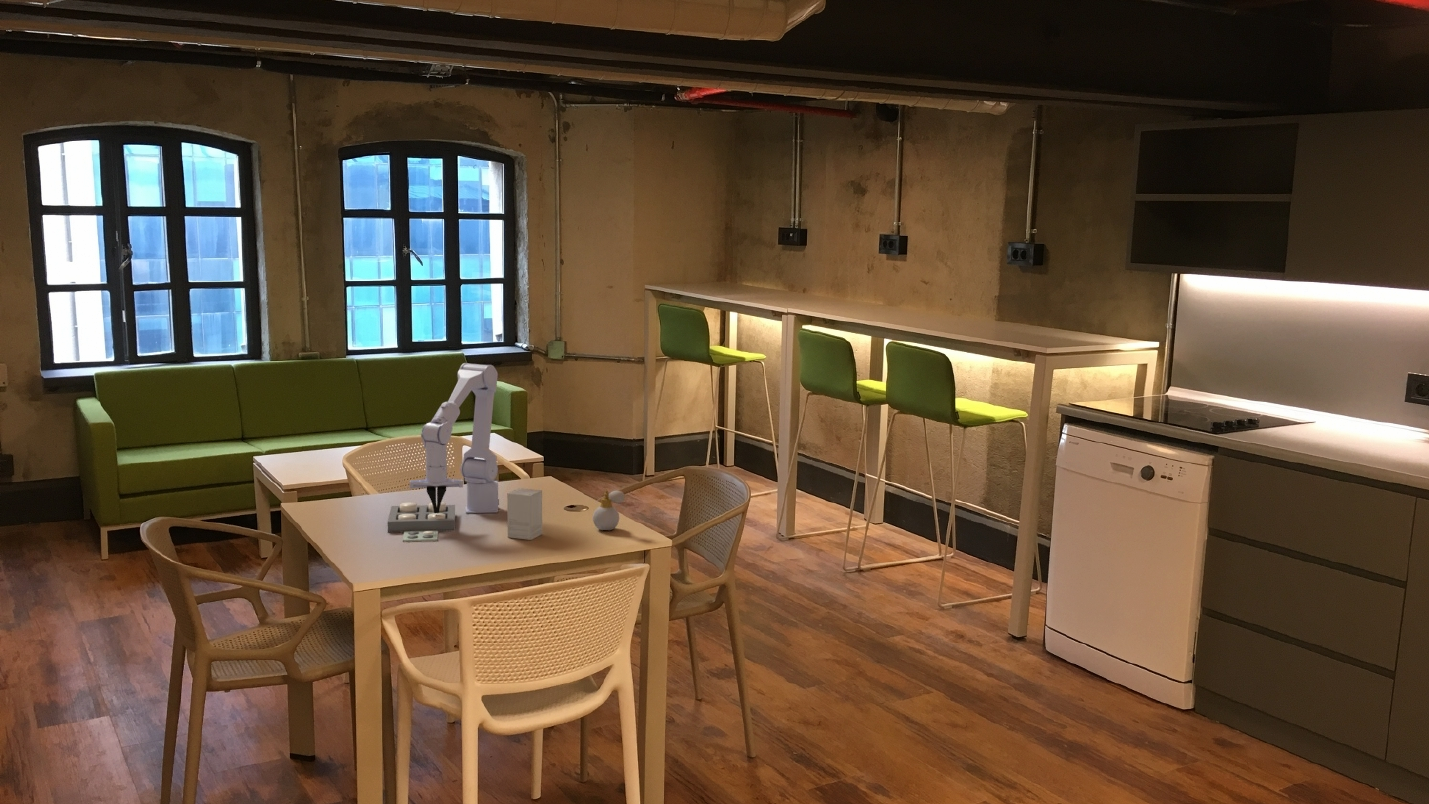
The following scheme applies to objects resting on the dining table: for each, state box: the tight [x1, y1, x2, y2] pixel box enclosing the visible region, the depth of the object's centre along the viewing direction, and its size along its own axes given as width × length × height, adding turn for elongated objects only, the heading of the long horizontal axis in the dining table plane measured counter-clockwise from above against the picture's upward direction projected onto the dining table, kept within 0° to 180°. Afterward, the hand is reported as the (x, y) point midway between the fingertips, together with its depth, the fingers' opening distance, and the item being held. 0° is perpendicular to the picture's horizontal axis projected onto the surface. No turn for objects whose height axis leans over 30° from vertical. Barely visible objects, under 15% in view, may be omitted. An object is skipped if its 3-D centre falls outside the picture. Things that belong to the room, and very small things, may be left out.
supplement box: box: [506, 487, 543, 541], centre depth 323 cm, size 7×7×13 cm
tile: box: [402, 530, 439, 543], centre depth 320 cm, size 9×9×1 cm
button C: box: [399, 502, 418, 513], centre depth 336 cm, size 5×5×3 cm
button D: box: [428, 501, 447, 512], centre depth 338 cm, size 5×5×3 cm
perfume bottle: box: [592, 489, 626, 531], centre depth 332 cm, size 8×10×12 cm
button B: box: [428, 513, 445, 519], centre depth 331 cm, size 5×5×3 cm
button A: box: [398, 514, 416, 520], centre depth 329 cm, size 5×5×3 cm
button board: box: [387, 504, 456, 533], centre depth 334 cm, size 18×18×3 cm
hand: (436, 512), depth 330 cm, fingers closed
